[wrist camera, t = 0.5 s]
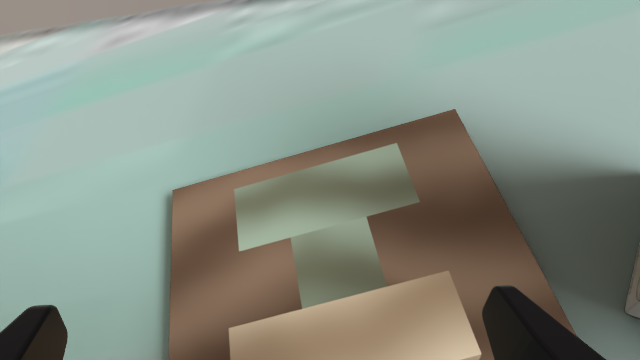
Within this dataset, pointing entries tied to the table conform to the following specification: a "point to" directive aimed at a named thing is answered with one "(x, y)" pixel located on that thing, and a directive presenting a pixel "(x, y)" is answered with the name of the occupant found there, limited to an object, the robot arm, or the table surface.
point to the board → (344, 234)
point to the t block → (367, 327)
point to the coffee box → (634, 290)
